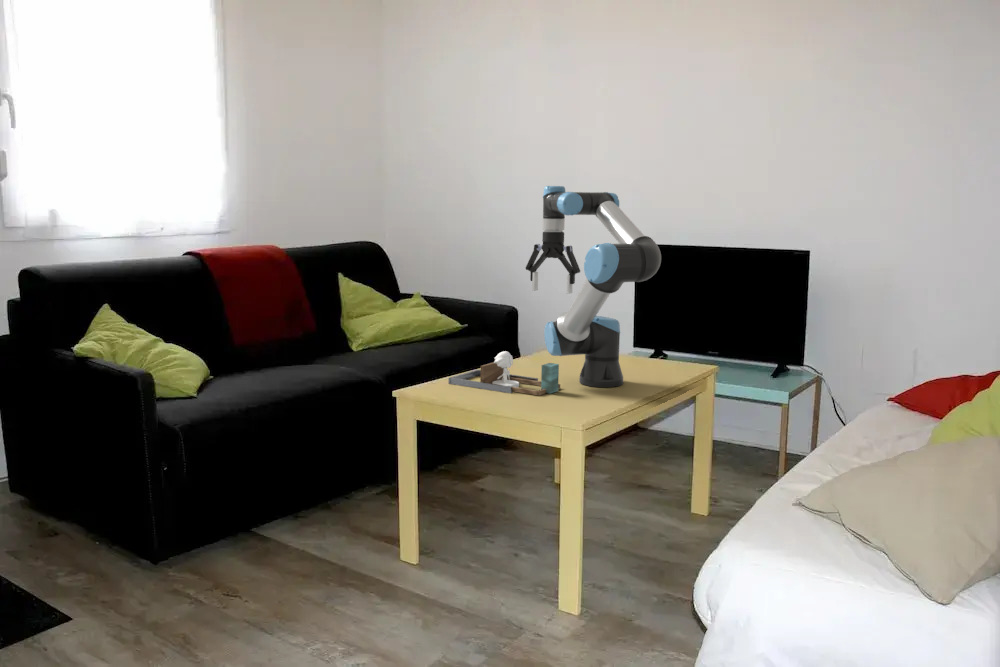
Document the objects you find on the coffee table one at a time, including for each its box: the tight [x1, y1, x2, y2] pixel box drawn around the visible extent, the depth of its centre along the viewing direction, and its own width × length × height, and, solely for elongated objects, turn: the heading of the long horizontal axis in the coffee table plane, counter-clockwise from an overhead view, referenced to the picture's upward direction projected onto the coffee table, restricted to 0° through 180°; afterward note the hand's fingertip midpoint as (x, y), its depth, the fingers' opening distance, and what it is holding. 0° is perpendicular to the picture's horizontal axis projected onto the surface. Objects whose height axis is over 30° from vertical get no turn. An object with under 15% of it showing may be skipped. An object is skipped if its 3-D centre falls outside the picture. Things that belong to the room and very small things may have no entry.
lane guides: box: [448, 369, 539, 394], centre depth 297 cm, size 25×17×2 cm
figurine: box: [492, 350, 520, 388], centre depth 294 cm, size 9×9×12 cm
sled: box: [479, 361, 561, 396], centre depth 290 cm, size 25×14×9 cm, turn 57°
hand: (552, 292), depth 303 cm, fingers open, 13 cm apart
